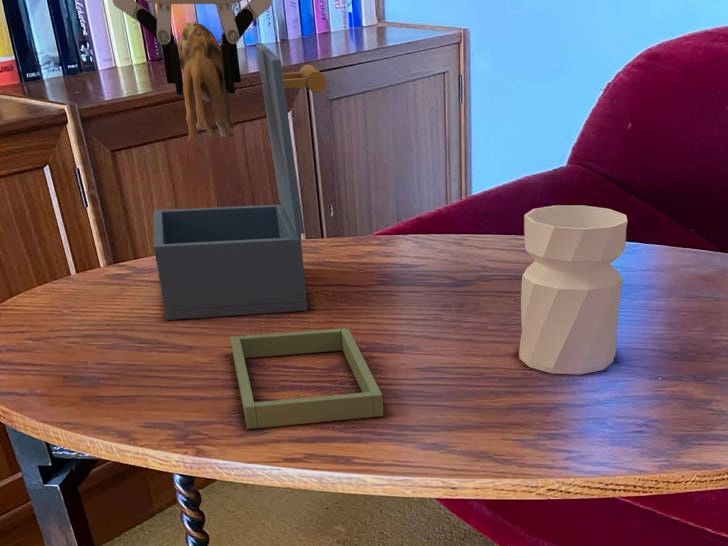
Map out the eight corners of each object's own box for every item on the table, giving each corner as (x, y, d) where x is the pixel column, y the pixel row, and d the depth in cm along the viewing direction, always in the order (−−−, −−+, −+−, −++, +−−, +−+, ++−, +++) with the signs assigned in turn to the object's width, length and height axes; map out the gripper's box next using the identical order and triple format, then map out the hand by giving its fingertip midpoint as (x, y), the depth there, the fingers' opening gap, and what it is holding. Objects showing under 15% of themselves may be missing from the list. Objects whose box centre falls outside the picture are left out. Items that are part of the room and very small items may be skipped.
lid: (271, 59, 84) (330, 55, 85) (256, 44, 97) (307, 41, 98) (296, 234, 93) (349, 228, 94) (279, 200, 105) (326, 195, 106)
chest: (166, 320, 94) (153, 246, 90) (164, 276, 107) (153, 210, 103) (307, 310, 97) (301, 239, 93) (289, 269, 110) (283, 204, 106)
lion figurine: (179, 124, 99) (163, 20, 94) (232, 122, 101) (219, 20, 95) (189, 146, 88) (171, 30, 83) (247, 144, 89) (234, 30, 84)
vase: (551, 381, 83) (559, 233, 75) (501, 350, 89) (505, 210, 82) (634, 365, 86) (650, 222, 79) (580, 336, 92) (590, 201, 85)
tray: (247, 429, 74) (244, 407, 72) (232, 356, 86) (230, 336, 85) (383, 416, 76) (382, 394, 75) (349, 347, 89) (348, 327, 88)
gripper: (268, -151, 85) (289, 86, 96) (69, -158, 81) (114, 89, 92) (277, -157, 79) (298, 96, 90) (62, -166, 76) (111, 99, 86)
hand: (205, 90), depth 91 cm, fingers closed on lion figurine, 4 cm apart
